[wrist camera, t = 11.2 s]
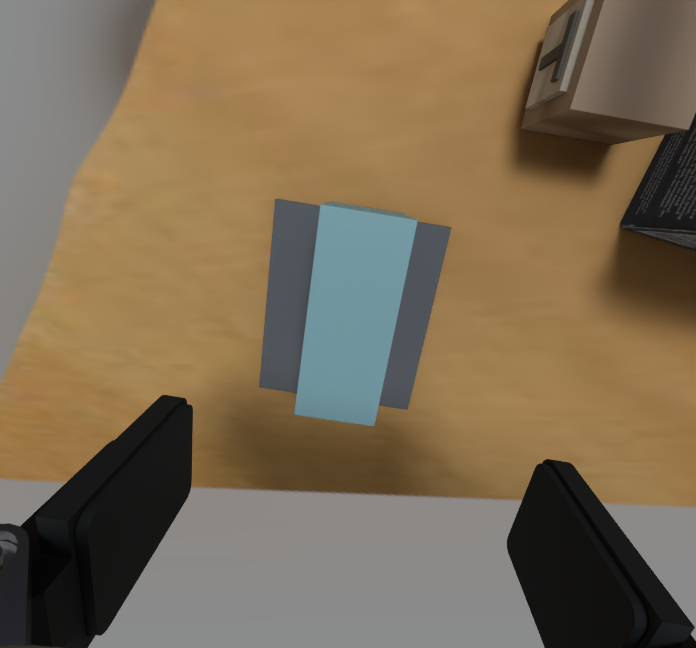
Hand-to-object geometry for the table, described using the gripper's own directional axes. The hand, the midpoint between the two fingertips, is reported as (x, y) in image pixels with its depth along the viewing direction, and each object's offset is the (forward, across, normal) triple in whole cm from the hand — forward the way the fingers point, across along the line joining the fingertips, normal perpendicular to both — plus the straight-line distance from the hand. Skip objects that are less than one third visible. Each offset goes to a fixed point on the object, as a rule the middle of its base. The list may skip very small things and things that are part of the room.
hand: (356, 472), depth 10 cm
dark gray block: (+14, +1, 0) cm, 14 cm away
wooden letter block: (+14, -9, -14) cm, 22 cm away
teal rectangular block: (+14, +1, -1) cm, 14 cm away
